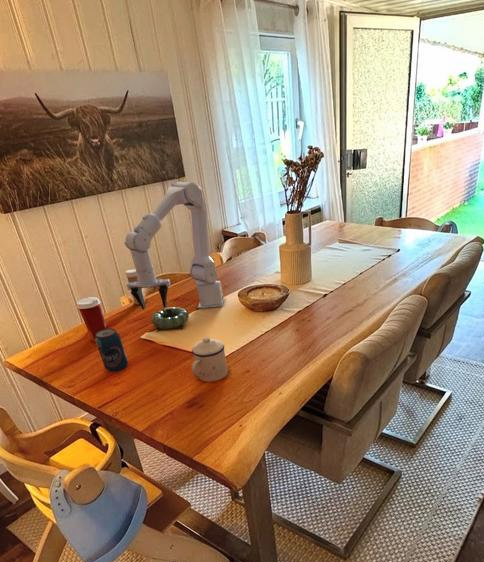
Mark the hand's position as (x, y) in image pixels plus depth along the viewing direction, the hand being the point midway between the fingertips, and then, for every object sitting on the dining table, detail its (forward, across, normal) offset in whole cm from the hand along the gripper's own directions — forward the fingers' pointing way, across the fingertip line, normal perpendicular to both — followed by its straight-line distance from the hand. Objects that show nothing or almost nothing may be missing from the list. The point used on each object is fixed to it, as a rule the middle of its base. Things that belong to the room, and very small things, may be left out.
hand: (154, 307), depth 153 cm
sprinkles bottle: (+7, -14, +26) cm, 30 cm away
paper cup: (+7, -20, -6) cm, 22 cm away
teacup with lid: (+7, +23, -40) cm, 46 cm away
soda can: (+7, -7, -30) cm, 31 cm away
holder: (+7, +5, 0) cm, 9 cm away
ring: (+4, +5, 0) cm, 6 cm away
